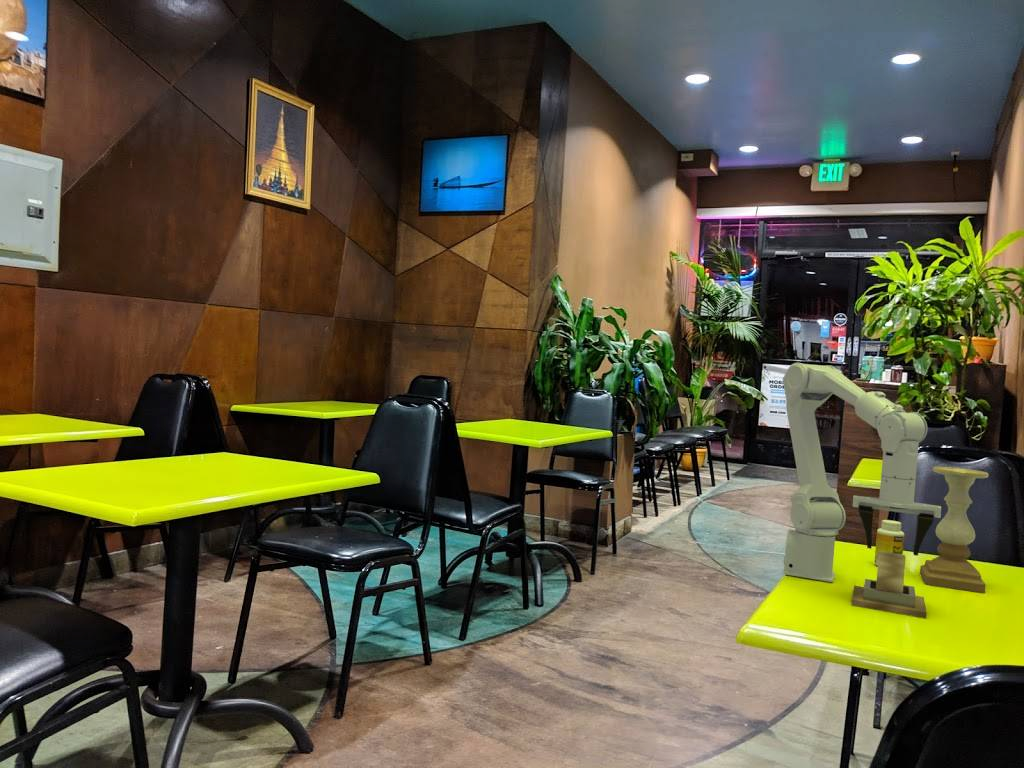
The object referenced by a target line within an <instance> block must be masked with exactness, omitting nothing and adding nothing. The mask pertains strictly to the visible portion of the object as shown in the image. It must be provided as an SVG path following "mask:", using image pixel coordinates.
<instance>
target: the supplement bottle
mask: <svg viewBox="0 0 1024 768" xmlns="http://www.w3.org/2000/svg"><path fill="white" fill-rule="evenodd" d="M904 541H905V532H903V531H902V522H900V521H896V520H890V519H883V520H881V525H880V528H878V529H877V530H876V541H875V551H874V565H876V566H877V567H878V557H879V551H882V552H889V553H896V554H903V553H904V543H905V542H904ZM903 555H904V554H903Z"/></svg>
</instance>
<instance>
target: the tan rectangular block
mask: <svg viewBox="0 0 1024 768" xmlns="http://www.w3.org/2000/svg"><path fill="white" fill-rule="evenodd" d="M906 560H907V559H906V555H905V554H896V553H889V552H882V551H879V557H878V566H877V569H876V571H877V572H876V581H877V582H876V589H878V590H884V591H890V592H896V593H902V594H903V585H905V584H904V582H905V571H906Z"/></svg>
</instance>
